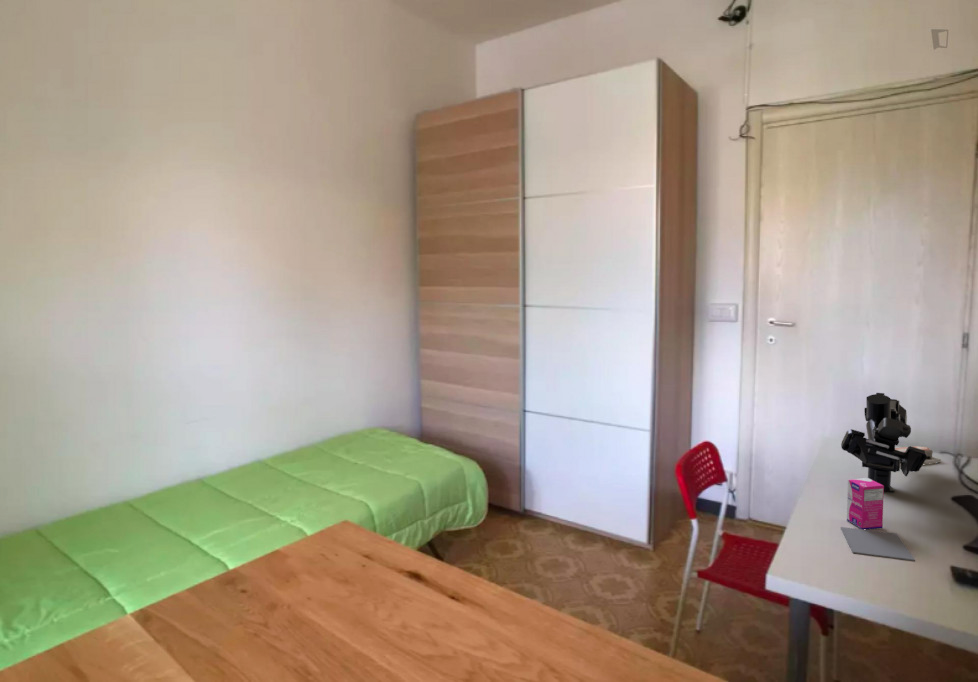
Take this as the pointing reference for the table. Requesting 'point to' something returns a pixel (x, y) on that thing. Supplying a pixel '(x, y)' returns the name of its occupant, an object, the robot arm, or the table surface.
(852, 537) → the mat
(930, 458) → the packaged product
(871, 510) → the supplement box
